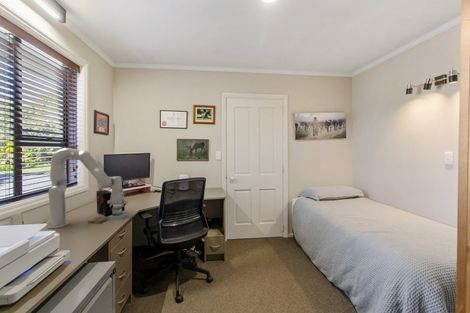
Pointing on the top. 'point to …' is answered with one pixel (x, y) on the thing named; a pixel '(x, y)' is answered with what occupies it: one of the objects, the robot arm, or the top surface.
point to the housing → (116, 210)
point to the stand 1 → (98, 220)
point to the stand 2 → (117, 216)
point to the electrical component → (103, 203)
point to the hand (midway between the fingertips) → (117, 210)
